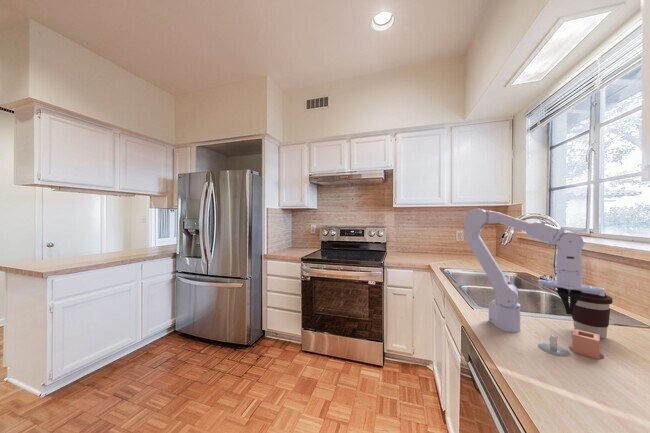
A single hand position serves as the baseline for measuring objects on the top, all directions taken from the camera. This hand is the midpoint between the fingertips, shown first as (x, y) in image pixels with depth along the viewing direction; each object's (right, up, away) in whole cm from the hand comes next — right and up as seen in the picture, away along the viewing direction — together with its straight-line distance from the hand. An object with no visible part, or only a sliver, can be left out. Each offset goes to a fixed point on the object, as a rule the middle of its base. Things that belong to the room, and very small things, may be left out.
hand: (569, 313), depth 76 cm
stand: (-9, -10, -5) cm, 14 cm away
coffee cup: (+12, -9, +5) cm, 16 cm away
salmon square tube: (-1, -9, -6) cm, 11 cm away
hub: (-1, -10, -6) cm, 11 cm away
